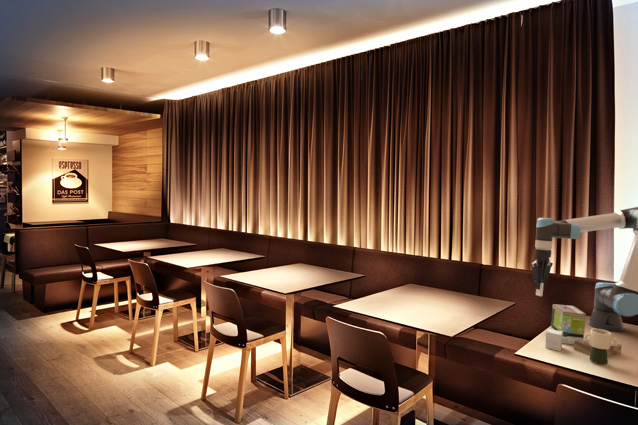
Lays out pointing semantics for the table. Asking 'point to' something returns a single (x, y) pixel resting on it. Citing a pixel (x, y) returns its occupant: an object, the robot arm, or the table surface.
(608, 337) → the character mug
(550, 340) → the skincare box
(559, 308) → the tea box
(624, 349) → the table surface
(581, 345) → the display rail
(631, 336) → the table surface
